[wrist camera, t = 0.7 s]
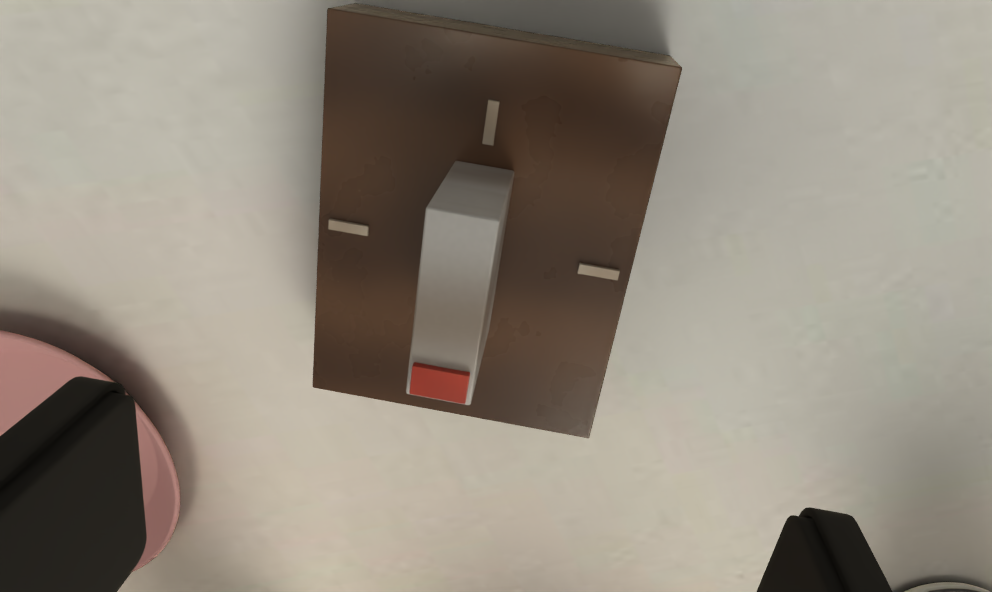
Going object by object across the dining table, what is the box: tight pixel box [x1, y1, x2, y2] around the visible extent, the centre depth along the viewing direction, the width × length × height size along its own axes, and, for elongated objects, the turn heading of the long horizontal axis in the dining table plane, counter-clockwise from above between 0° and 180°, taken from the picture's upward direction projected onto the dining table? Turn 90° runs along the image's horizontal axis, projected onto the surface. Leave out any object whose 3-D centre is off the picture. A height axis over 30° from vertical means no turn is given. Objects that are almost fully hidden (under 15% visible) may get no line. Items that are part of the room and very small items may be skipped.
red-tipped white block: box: [406, 161, 514, 405], centre depth 22 cm, size 6×2×5 cm, turn 172°
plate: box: [0, 331, 180, 572], centre depth 34 cm, size 14×14×2 cm
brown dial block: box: [313, 3, 682, 438], centre depth 26 cm, size 14×11×3 cm
